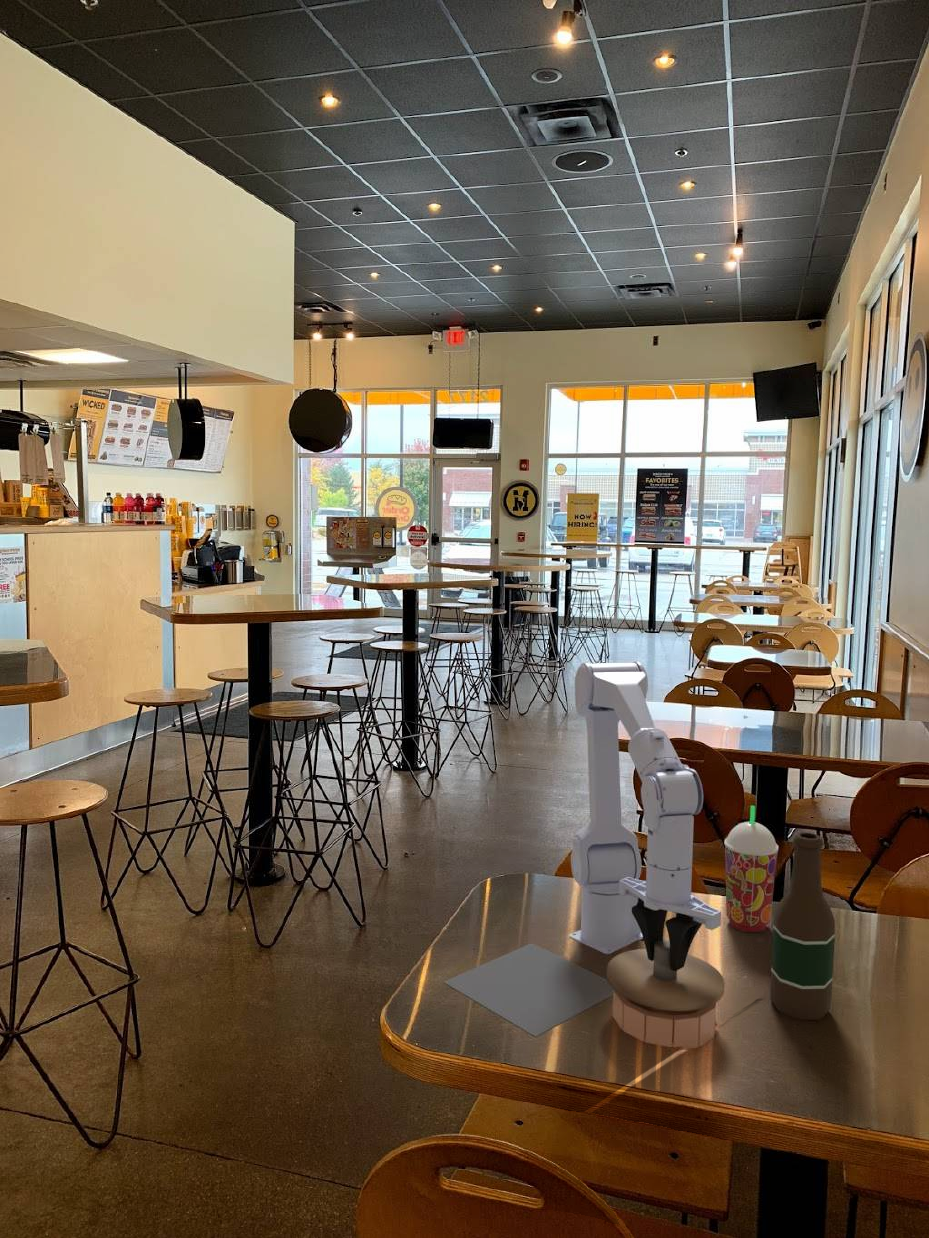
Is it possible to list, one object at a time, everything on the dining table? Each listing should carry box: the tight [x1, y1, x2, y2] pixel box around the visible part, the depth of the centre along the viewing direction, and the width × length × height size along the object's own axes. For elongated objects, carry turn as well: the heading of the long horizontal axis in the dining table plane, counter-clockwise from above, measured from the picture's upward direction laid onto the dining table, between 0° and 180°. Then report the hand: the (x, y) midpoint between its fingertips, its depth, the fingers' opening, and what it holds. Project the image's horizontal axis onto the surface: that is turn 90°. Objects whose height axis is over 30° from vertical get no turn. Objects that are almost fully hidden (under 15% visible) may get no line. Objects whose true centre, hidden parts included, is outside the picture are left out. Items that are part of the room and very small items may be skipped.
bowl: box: [612, 989, 717, 1051], centre depth 118 cm, size 13×13×4 cm
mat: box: [443, 942, 613, 1038], centre depth 126 cm, size 18×18×1 cm
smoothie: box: [723, 805, 779, 933], centre depth 145 cm, size 8×8×20 cm
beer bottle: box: [769, 831, 836, 1021], centre depth 120 cm, size 8×8×24 cm
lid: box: [606, 939, 725, 1011], centre depth 117 cm, size 15×15×5 cm
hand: (665, 962), depth 117 cm, fingers closed on lid, 3 cm apart
